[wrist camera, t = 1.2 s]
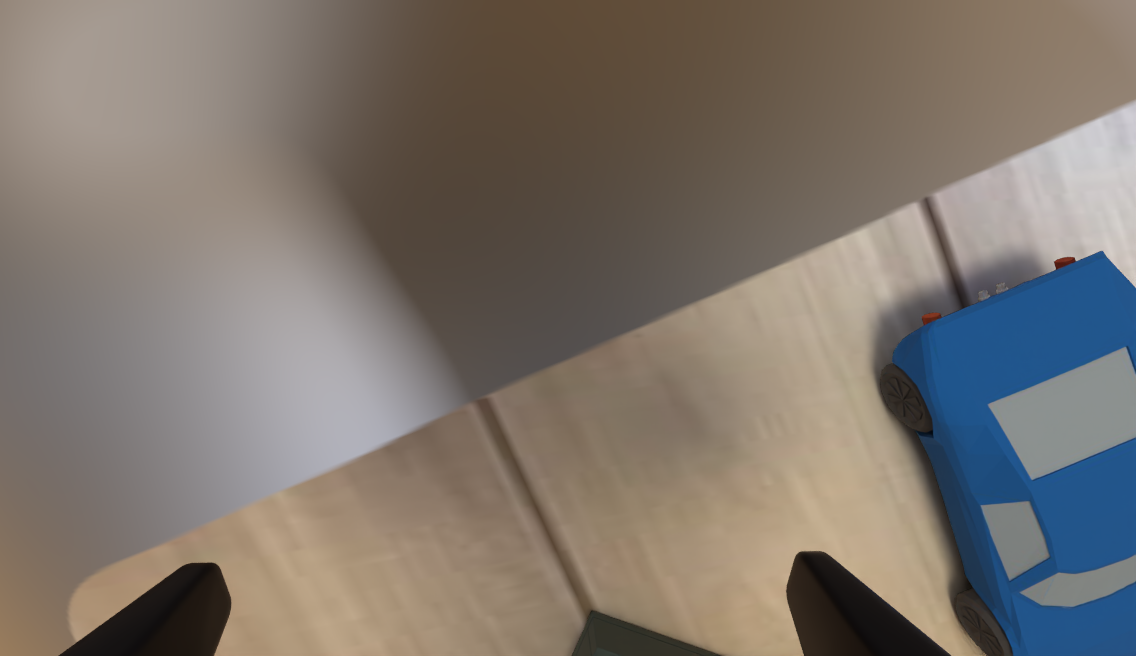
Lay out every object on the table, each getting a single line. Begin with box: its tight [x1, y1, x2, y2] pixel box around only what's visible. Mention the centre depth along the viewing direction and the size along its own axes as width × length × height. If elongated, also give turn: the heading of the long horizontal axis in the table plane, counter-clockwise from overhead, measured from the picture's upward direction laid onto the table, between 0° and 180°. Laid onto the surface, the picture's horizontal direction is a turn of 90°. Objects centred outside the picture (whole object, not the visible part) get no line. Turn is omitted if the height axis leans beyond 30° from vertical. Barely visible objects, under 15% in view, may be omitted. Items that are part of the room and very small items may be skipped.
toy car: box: [880, 251, 1136, 656], centre depth 23 cm, size 9×20×5 cm, turn 22°
